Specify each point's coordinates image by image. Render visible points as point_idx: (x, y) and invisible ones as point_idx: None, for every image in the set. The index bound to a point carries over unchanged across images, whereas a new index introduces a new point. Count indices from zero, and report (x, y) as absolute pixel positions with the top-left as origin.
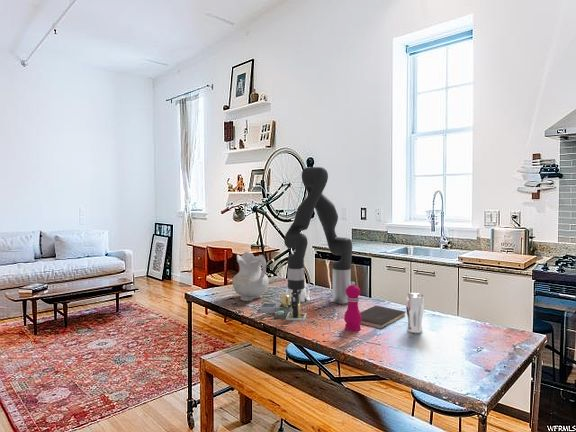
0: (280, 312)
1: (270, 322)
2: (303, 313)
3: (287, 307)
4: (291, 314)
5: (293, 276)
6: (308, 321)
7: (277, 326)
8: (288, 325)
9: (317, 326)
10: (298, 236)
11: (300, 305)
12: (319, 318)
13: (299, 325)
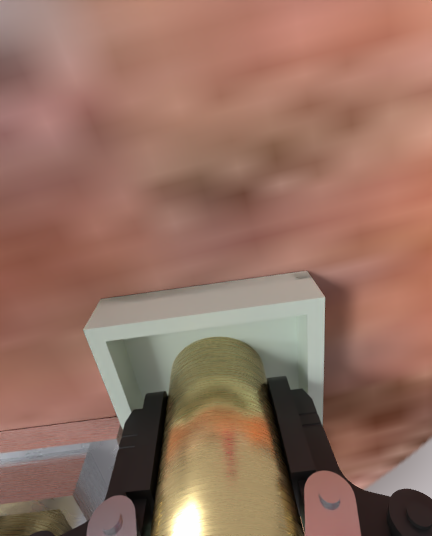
0: None
1: None
2: (112, 356)
3: (51, 526)
4: None
5: None
6: (228, 245)
7: (406, 436)
8: (379, 380)
9: (400, 81)
10: None
11: (232, 507)
12: (63, 135)
13: (373, 298)
